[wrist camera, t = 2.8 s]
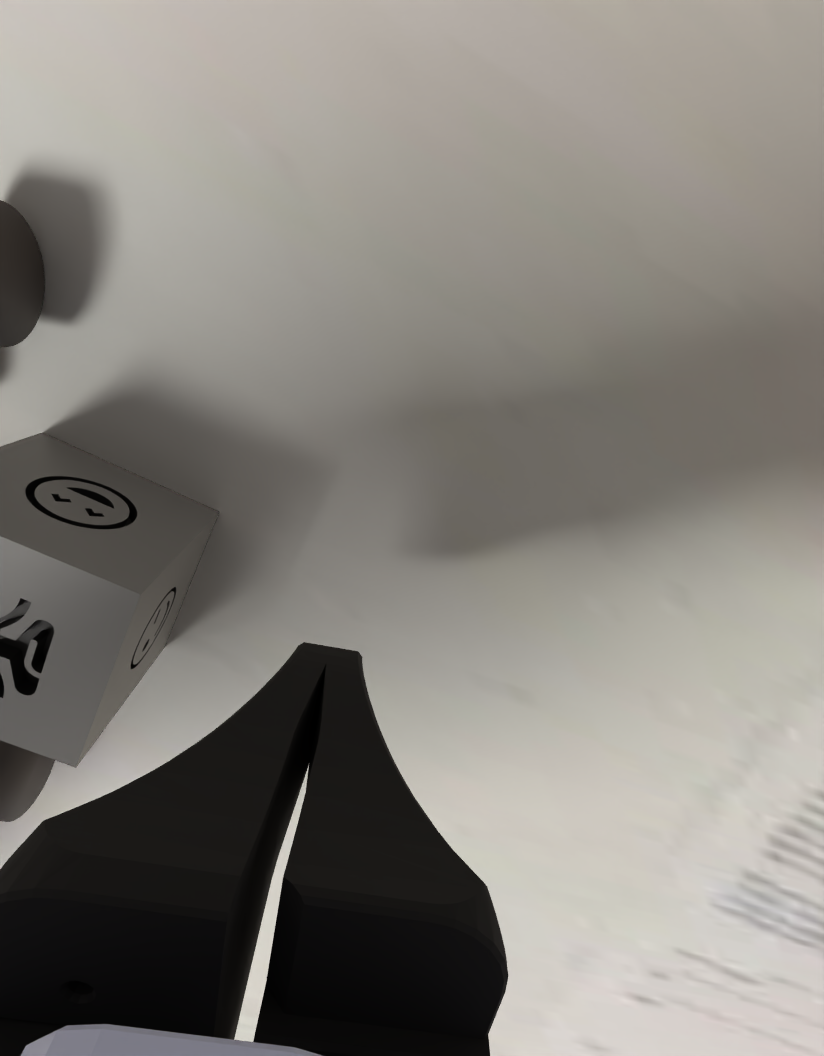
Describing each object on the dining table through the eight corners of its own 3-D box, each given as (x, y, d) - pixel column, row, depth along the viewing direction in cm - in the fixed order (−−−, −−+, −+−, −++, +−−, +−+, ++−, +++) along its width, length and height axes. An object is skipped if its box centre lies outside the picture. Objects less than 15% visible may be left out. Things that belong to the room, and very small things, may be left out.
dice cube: (165, 646, 18) (76, 767, 13) (3, 581, 17) (-154, 684, 12) (219, 511, 16) (140, 594, 11) (43, 432, 15) (-119, 486, 11)
